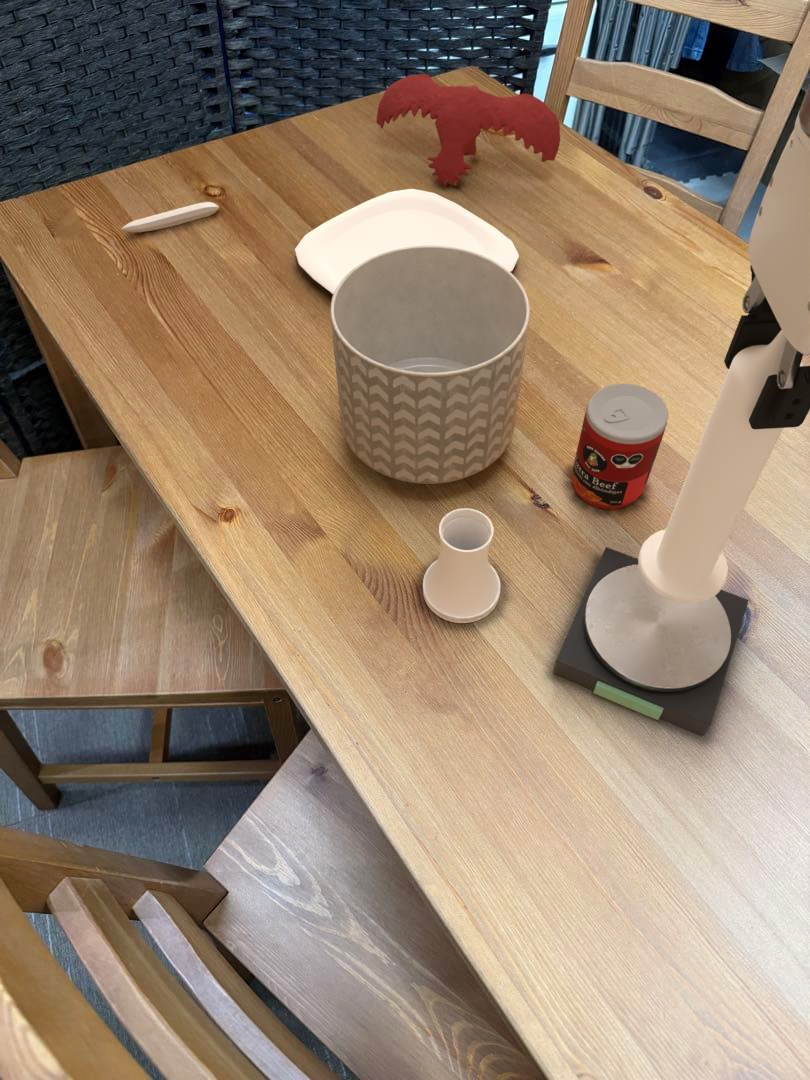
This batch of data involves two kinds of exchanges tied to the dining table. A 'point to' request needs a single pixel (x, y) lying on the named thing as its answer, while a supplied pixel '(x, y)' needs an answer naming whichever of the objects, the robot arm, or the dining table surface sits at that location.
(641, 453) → the canned food
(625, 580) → the scale
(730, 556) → the dining table surface
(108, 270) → the dining table surface
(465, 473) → the planter
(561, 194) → the dining table surface
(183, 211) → the pen
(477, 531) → the vase
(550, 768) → the dining table surface
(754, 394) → the candle
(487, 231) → the plate
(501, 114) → the decorative bird sculpture
